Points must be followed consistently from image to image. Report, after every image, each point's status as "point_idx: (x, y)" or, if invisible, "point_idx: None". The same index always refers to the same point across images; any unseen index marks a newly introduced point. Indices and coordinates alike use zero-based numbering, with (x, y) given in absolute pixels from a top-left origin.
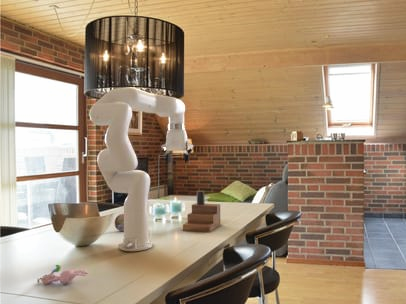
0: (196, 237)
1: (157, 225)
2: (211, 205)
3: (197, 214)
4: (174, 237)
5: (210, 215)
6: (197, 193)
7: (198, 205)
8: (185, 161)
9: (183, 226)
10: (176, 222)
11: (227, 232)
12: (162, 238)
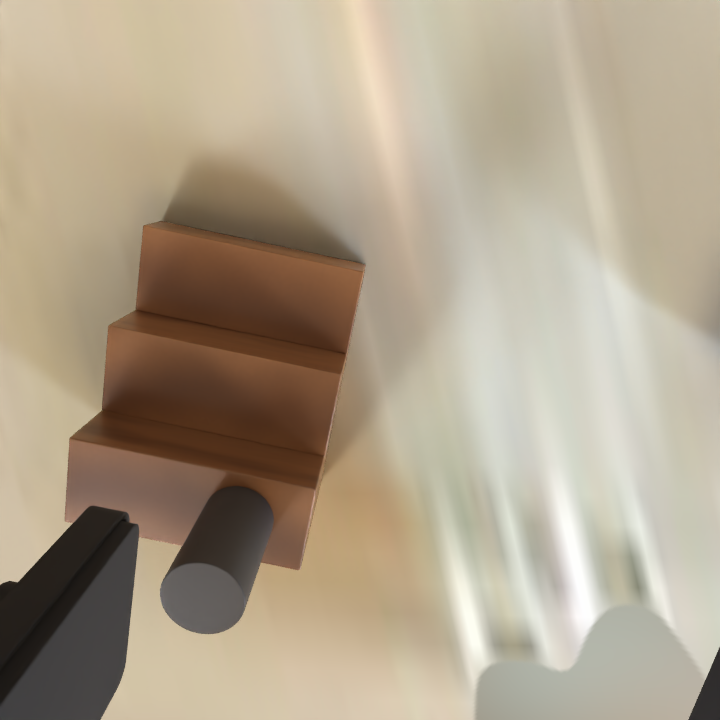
0: (214, 51)
1: (596, 425)
2: (122, 453)
3: (253, 370)
4: (378, 44)
5: (133, 330)
6: (236, 559)
7: (249, 472)
8: (101, 521)
9: (359, 268)
10: (473, 517)
11: (33, 216)
12: (463, 6)
